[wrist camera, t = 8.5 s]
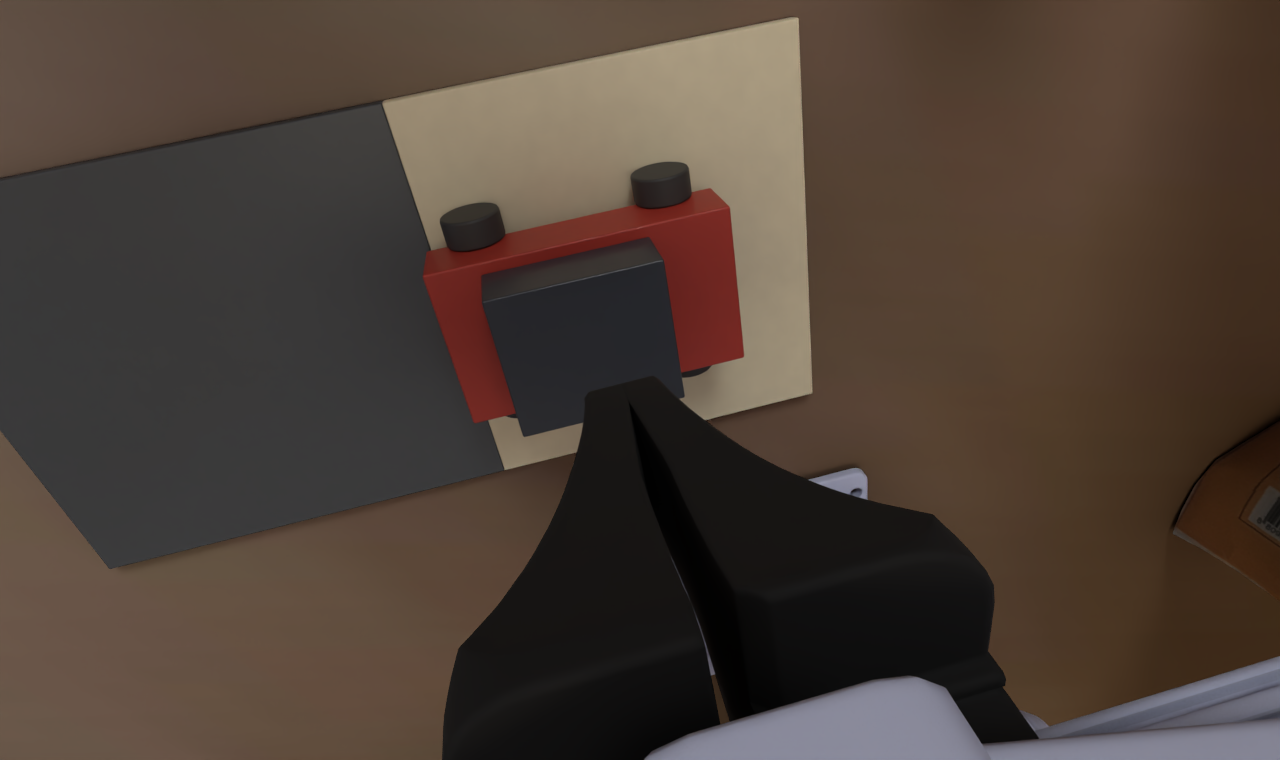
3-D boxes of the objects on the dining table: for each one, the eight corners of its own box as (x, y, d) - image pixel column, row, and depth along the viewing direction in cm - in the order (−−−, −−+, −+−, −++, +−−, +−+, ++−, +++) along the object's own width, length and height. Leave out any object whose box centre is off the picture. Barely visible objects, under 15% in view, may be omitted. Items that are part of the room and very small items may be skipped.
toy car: (723, 342, 23) (767, 411, 20) (481, 401, 23) (482, 483, 19) (701, 152, 20) (748, 194, 17) (417, 214, 20) (405, 272, 16)
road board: (808, 387, 26) (813, 393, 25) (114, 561, 24) (109, 569, 23) (793, 16, 19) (799, 17, 19) (-158, 210, 17) (-171, 215, 17)
